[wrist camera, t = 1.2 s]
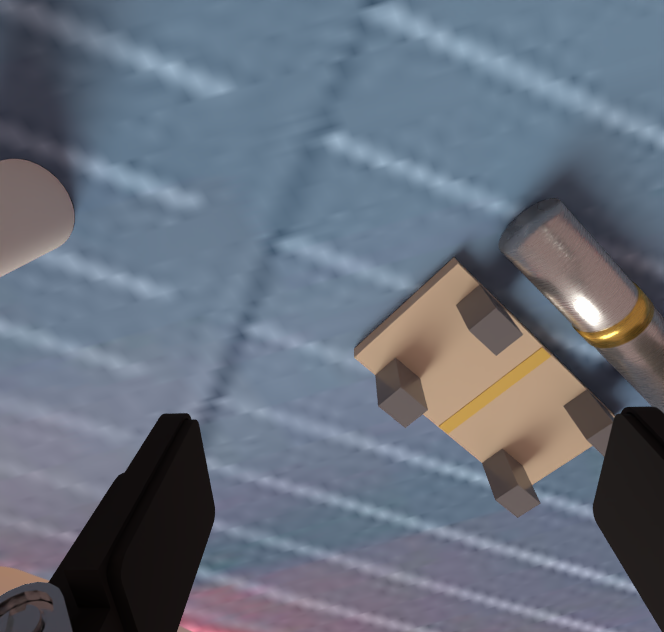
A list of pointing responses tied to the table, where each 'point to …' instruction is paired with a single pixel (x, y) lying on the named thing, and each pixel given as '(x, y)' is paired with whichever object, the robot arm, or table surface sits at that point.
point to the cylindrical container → (31, 213)
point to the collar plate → (483, 384)
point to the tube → (590, 293)
